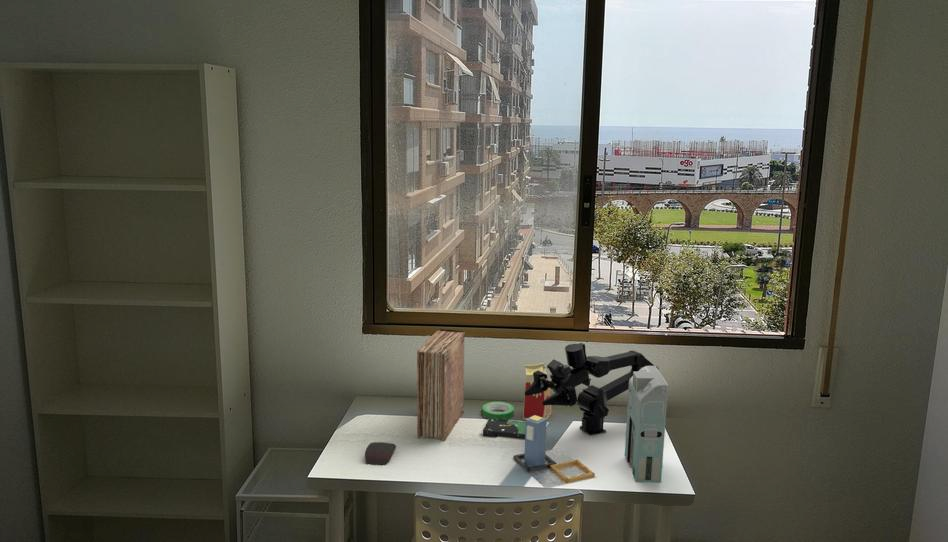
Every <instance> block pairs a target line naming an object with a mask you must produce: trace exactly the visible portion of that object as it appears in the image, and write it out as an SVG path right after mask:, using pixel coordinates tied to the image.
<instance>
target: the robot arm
mask: <svg viewBox="0 0 948 542" xmlns="http://www.w3.org/2000/svg"><path fill="white" fill-rule="evenodd" d="M564 352H565V356H566V363H567V364H563V363H561V362H560V361H558V360H556V359H554V358H553V359H552V360H551V361H550V362H549V363H548V364H547V365H546V368H547V369H548V370H549V372H550V374H549V376H550V379H549V378H548V373H547V374H545V373H543V372H540V371H536V372H534V373H533V377H534V382H533V383H532V384H531V386H530V387H529V388H528V389H527V390H526V391H525V390H524V395H526V396H527V395H533V394H539V393H542V391H546V390H547V389H548V387H549V389H550V390H553V392H554V393H553V394H551V395H550V397H548V398H547V399H545V400H544V401H543V402H542V404H543V405H551V406H566V407H567V406H569V407H573V406H575V405H576V404H577V405H578V408H579V409H580V411H582V412H583V413H582V417H581V425H580V426H579V429H580V430H582V431H583V432H585V433H586V434H588V435H589V436H593V435H597V434H598V435H599V434H602V433H603V434H604V433H607V432H606V431H607V430H606V429H605V428H604V421H605V420H604V419H605V417H607V416H608V414H609V411H610V410H609V408H608V407H607V406H606V405H607V403H608V401H610V400H612V399H613V398H615V397H617V396H618V395H621V394H622V393H624V392H626V391H628V390H629V380H630V378H631V377H632V376H633V372H638V371H639V370H640V369H641V368H643V367H645V366H656V367H657V369H658V370H659V371H660V369H659V367H658V366H657V365H655V364H653V363H652V362H651V361H650V360H649V359H648V358H646V357H645V356H644V354H643V353H641V352H638V351H635V350H629V351H627V352H626V351H625V352H622V353H618V354H617V353H616V354H613V355H609V356H600V355H599V356H597V355H589V356H587V353H586V344H585V343H582V342H580V343H571V344H570V343H569V344H568V345H566V346H565V347H564ZM626 367H627V368H628V367H631V368H630V371H629V372H627V373H625V374H624V375H622V376H620V377H618V378H615V379H614V380H612V381H611V382H609V383H606V384H604V385H603V386H600V387H598V386H595V385H593V384H591V380H592V379H591V378H590V376H592V377H594V378H597V379H598V378H602V377H605V376H606V375H608V374H609V373H610V372H611V371H613V370H618V369H621V368H626ZM589 375H590V376H589ZM590 384H591V385H590ZM580 385H584V386H586V388H582V391H581V392H579V393H578V395H577V390H576V387H578V386H580Z"/></svg>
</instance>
